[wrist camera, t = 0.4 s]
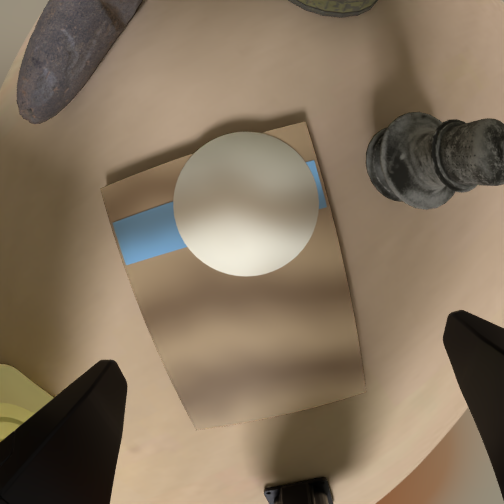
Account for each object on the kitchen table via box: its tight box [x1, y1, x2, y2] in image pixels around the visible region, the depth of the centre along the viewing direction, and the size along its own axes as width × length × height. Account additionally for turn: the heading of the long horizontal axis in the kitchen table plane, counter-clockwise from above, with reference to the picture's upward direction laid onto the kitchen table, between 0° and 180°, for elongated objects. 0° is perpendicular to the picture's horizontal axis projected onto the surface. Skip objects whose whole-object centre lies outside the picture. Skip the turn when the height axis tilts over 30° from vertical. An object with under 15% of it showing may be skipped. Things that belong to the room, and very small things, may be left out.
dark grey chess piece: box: [366, 112, 504, 210], centre depth 14 cm, size 6×6×12 cm
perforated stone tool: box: [16, 0, 143, 124], centre depth 15 cm, size 15×5×7 cm, turn 150°
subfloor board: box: [101, 122, 366, 430], centre depth 21 cm, size 20×14×1 cm
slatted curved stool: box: [0, 364, 54, 442], centre depth 17 cm, size 30×16×18 cm, turn 151°
